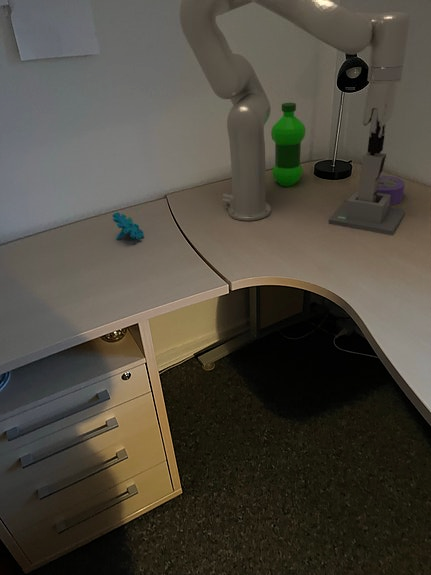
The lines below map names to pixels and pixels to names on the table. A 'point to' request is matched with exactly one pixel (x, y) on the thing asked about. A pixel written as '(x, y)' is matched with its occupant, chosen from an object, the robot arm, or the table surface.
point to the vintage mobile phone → (370, 176)
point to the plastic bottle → (288, 146)
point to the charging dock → (368, 214)
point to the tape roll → (391, 188)
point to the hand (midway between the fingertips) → (374, 151)
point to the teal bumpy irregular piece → (127, 226)
